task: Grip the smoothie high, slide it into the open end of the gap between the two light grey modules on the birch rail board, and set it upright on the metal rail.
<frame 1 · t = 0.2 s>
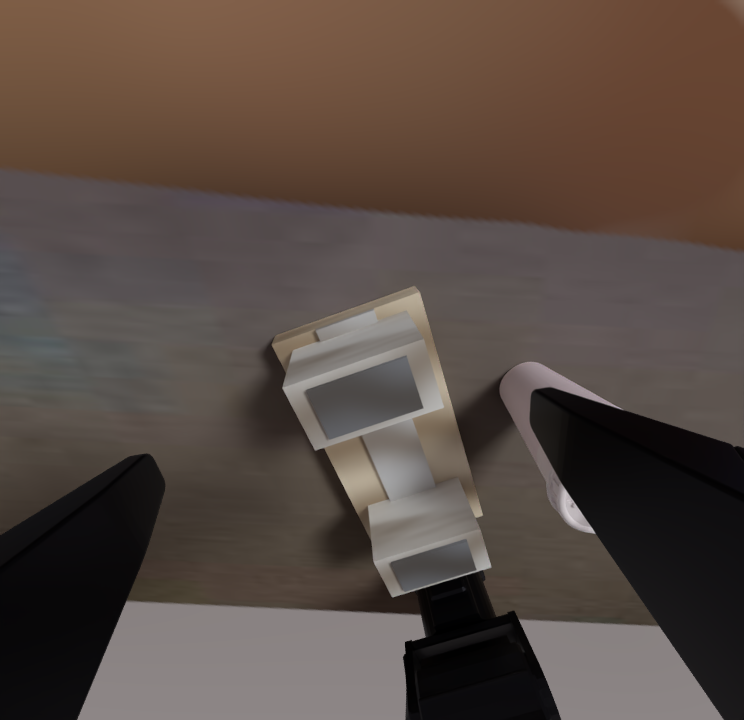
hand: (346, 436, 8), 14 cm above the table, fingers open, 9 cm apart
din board: (390, 430, 26), on the table
smoothie: (523, 384, 25), on the table
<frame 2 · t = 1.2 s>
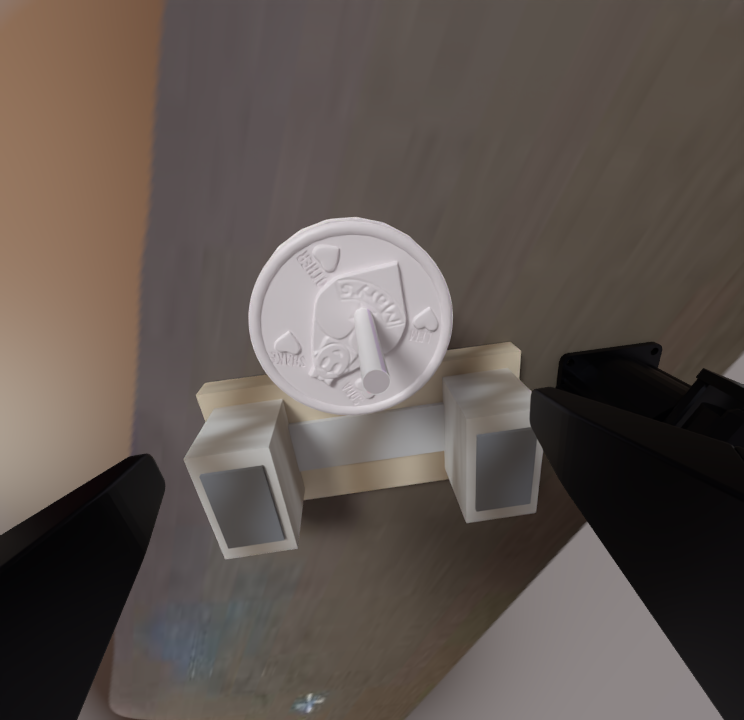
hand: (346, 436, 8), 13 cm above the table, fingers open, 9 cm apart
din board: (367, 422, 24), on the table
smoothie: (347, 271, 20), on the table
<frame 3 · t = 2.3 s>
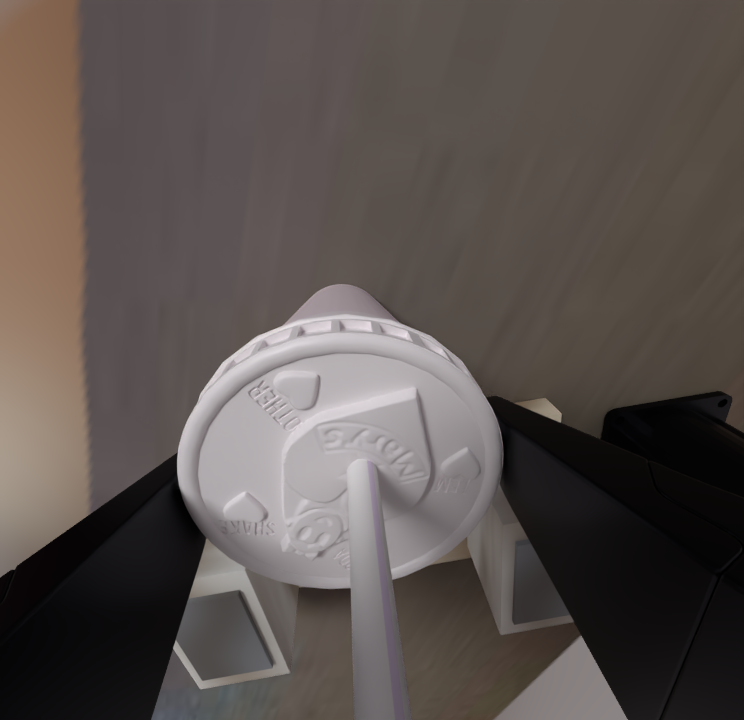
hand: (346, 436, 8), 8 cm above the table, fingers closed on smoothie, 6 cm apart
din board: (373, 494, 20), on the table
smoothie: (342, 324, 16), on the table, touching gripper
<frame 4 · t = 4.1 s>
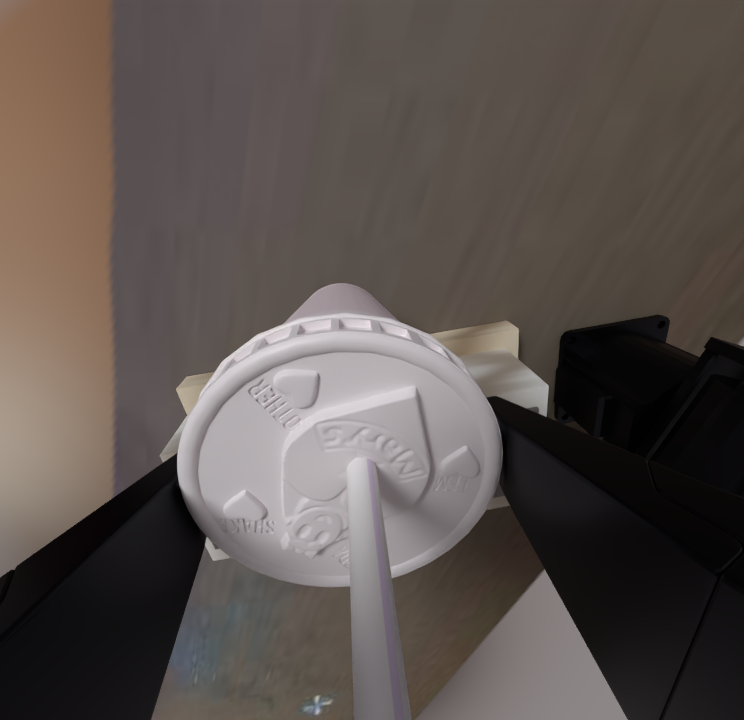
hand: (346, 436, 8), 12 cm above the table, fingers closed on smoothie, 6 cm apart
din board: (360, 412, 23), on the table
smoothie: (342, 323, 16), point 4 cm above the table, touching gripper
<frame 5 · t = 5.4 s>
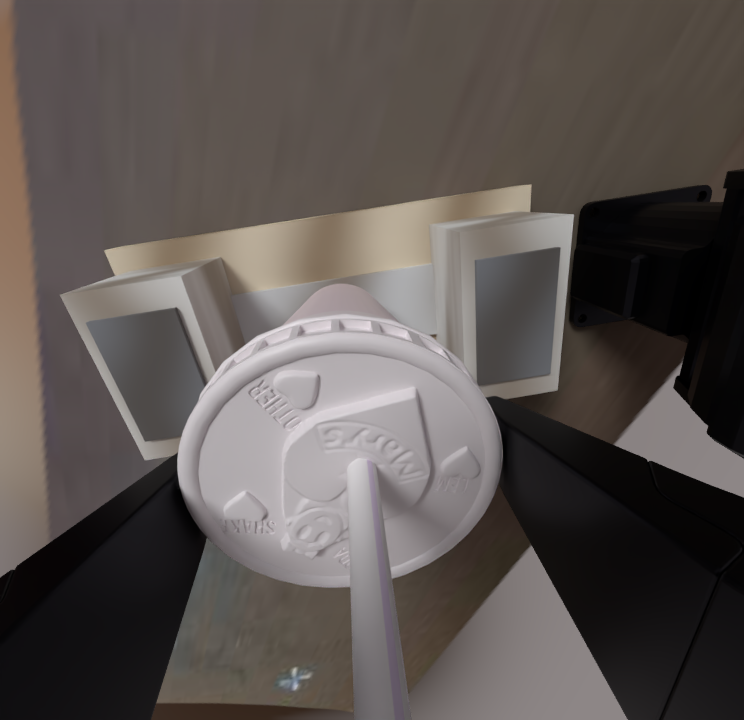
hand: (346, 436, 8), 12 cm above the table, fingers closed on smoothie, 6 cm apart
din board: (338, 306, 19), on the table
smoothie: (342, 324, 16), point 3 cm above the table, touching gripper
when the fingers open (10 cm above the table, at t = 6.1 s): smoothie stays where it is, resting on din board.
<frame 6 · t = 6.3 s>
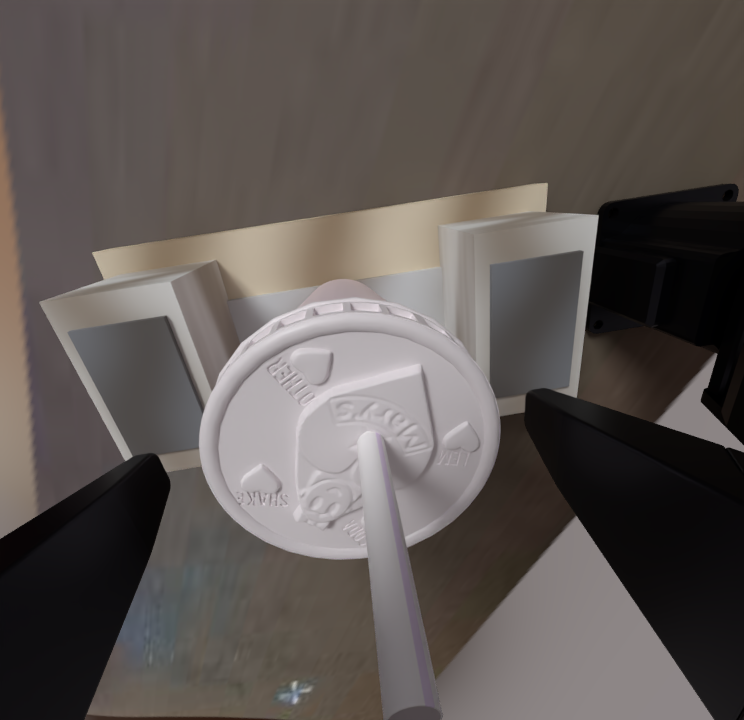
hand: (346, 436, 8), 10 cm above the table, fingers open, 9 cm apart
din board: (341, 311, 18), on the table
smoothie: (343, 318, 16), point 2 cm above the table, touching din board
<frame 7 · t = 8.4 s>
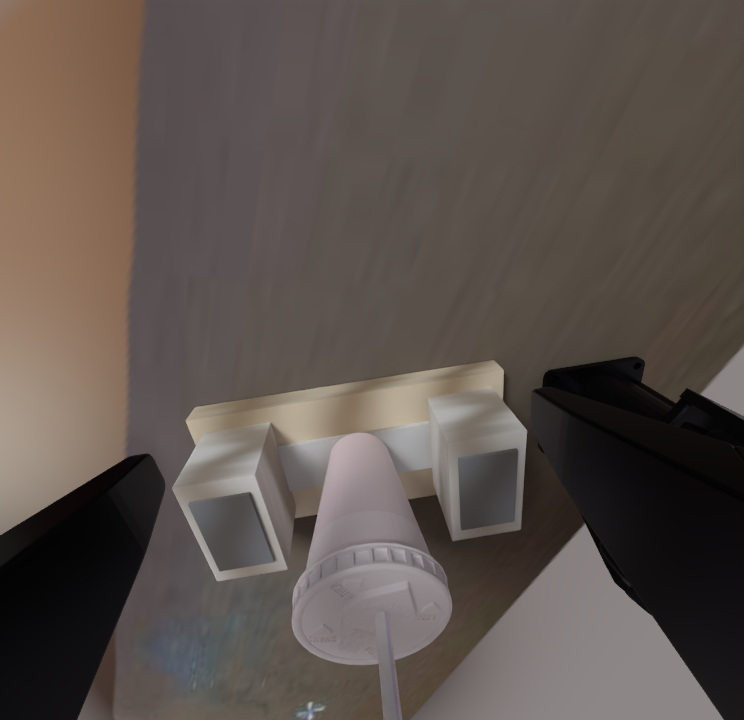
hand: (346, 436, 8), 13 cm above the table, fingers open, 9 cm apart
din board: (356, 440, 24), on the table
smoothie: (359, 454, 23), point 2 cm above the table, touching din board
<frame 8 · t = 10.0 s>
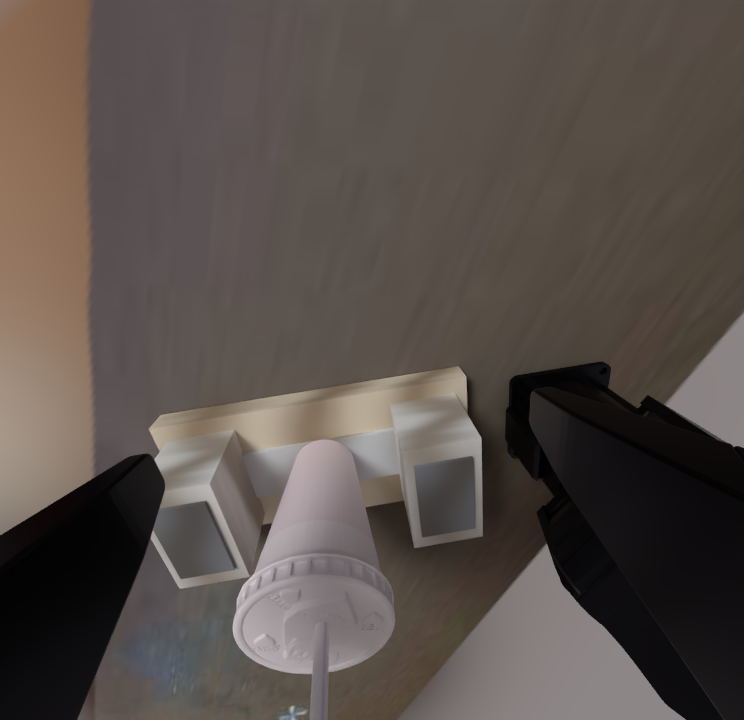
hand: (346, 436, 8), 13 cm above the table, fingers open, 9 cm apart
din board: (324, 447, 24), on the table
smoothie: (324, 461, 23), point 2 cm above the table, touching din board
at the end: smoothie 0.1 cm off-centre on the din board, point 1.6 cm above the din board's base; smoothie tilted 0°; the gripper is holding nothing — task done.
